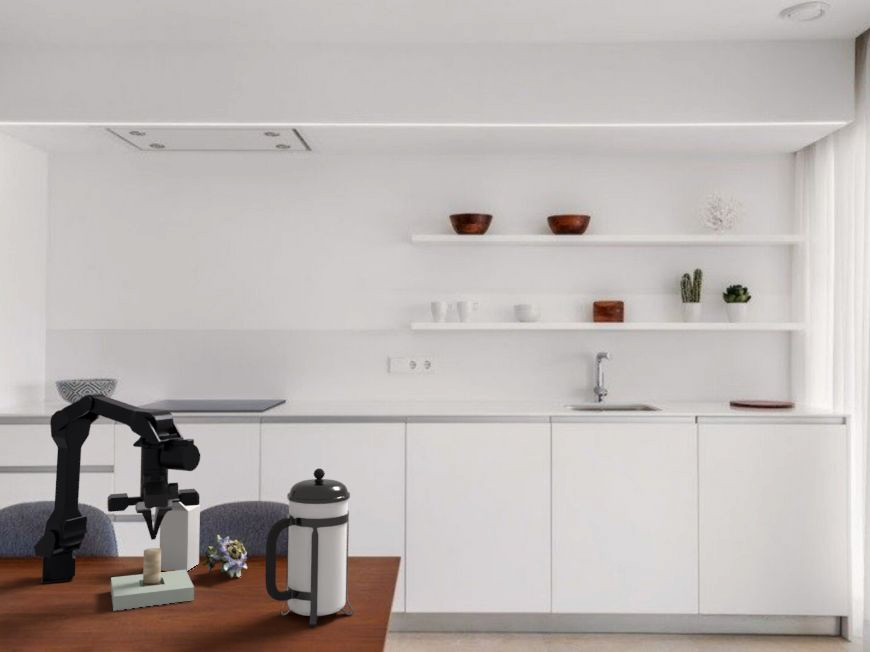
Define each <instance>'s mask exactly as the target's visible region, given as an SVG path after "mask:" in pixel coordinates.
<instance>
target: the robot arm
mask: <svg viewBox="0 0 870 652" xmlns="http://www.w3.org/2000/svg"><path fill="white" fill-rule="evenodd" d="M100 416H101V417H103V418H106V419H109V420H111V421H114V422H118V423H121V424H123V425H126V426H127V427H129V428H130V430H131V431H132V433H134V434H136V435H138V436H139V438H138V439H137V440H135V442H134V443H133V444H132V446H133V447H134V448H140V477H139V478H140V487H139V493H140V494H139V496H128V493H127V492H126V493H124V492H123V493H110V494H109V495H108V496H107V500H106V501H107V502H106V503H107V507H106V508H107V511H108V512H110V513H113V512H123V511H124V512H125V510H127V508H129V506H130V507H132V506H134V507H135V512H136V514H142V516H143V519H144V521H145V523H146V527H147V530H148V533H149V537H150V540H152V541H153V540H154V541H155V540H156V539H157V535H158V534H159V531H160V525H161V522H162V520H163V518H164V516H165V514H166V513H167V512H168V511H172V507H171V504H172V503H174V502H181V503H182V504H183V505H184V506H193V505H200V499H201V498H200V493H199V492H198V491H197V490H196V488H184V489H179V483H178V482H169V470H172V471H173V470H174V471H183V472H184V471H187V472H193V471H195V470H196V469H197V467H198V466H199V465H200V461H201V453H200V450H199V448H198V447H197V445H195V440H194V438H186V439H185V438H184V436H183V434H182V433H181V431H180V429H179V427H178V425H177V424H176V421H175V419H174V417H173V414H172V413H171V412H170V411H169V410H166V409H158V408H144V407H143V408H141V407H138V406H135V405H132V404H131V403H130V404H129V403H126V402H123V401H120V400H118V399H116V398H115V399H114V398H112V397H109V396H106V395H104V394H102V393H98V394H97V393H94V394H86V395H84V396H82V397H81V398H79V399H78V400H77V401H75V402H73V403H70V404H68V405H66V406H65V407H63V408H62V409H59V410H57V411H55V412H54V413H53V414H52V415H51V417H50V421H49V422H50V435H51V436H50V437H51V438H52V440H53V442H54V444H55V446H56V447H57V457H56V471H55V472H56V474H55V475H56V476H55V493H54V509H53V511H52V513H51V514H50V516H49V517H48V519H47V520H46V521H45V522H46V523H45V528H44V534H43V535H42V537H41V538H40V539H39V540H38V541H37V542H36V543H35V545H34V546H33V549H34V553H35V556H37V557H41V558H42V571H41V573H42V575H41V581H40V583H42V585H43V584H51V583H52V584H54V583H53V582H55V583H62V582H63V581H64V582H72V581H73V580H74V577H75V576H76V555H74V553H73V552H74V551H77V550H80V549H81V546H82V543H83V540H85V536H86V534H87V533H88V530H87V523H88V516H87V515H83V514H82V513H81V511H80V509H79V495H80V481H81V480H80V479H81V478H80V477H81V476H80V474H81V463H82V462H81V461H82V460H81V459H82V447H83V445H84V444H85V442H86V440H87V439H88V438H89V436H90V431H91V425H92V424H93V423H94V422H95V421H97V420H98V419H99V418H100ZM153 508H155V512H154V519H152V518H153V515H152V514H153V513H152V509H153ZM153 520H154V521H153ZM71 580H72V581H71Z"/></svg>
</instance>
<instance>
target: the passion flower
mask: <svg viewBox="0 0 870 652" xmlns="http://www.w3.org/2000/svg"><path fill="white" fill-rule="evenodd" d="M215 536H216V541H217V544H215V547H216V548H214V546H208V547H207V549H206V550H205V551H204V555H205V556H206V558H207V559H206V560H204V561H203V563H202V566H203V567H204V566H206V565H208V574H209V573H211V570H212V569H213V568H215V566H216V564H218V563H219V562H220V563H221V565H220V568H219V569H220V571H221V572H222V573H224V572H226V574H227V577H229V578H231V579H233V577H234V578H235V577H240V576H241V577H242V571H241V570H248V566H247V563H246V562H247V561H248V560H247V559H248V557H247V554H248V552H247V551H246V548H245V547H244V544H243V540H241V539H240V540H239V541H238V540H237V539H234V538H233V539H230V536H227V537H226V536H224V538H222V537H221V535H219V534H216V535H215ZM241 577H240V578H241Z"/></svg>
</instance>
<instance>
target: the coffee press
mask: <svg viewBox="0 0 870 652" xmlns="http://www.w3.org/2000/svg"><path fill="white" fill-rule="evenodd" d="M313 471H314V472H313V477H314V479H313V478H312V479H305V480H301V481H298V482H296V483H295V484H294V485H292V487H291V488H290V489H289V492H288V493H287V496H286V497H287V498H286V499H287V501H288V502H289V503H288V512H287V517H284V518H282V519H279V520H278V521H276V522H275V523H274V524H273V525H272V527H271V529H270V530H269V532H268V534H267V535H268V536H267V538H266V545H265V548H266V549H265V588H266V591H267V594H268V596H269V597H270V598H271V599H273V600H276V601H280V602H284V601H285V603H284V604H283V605H282V607H281V609H280V610H279V611H280V612H279V614H280V615H281V616H283V617H285V616H287V615H288V614H289V613H290V612H293V613H295V614H298V615H301V616H307V617H309V627H311V628H315V627H316V628H317V626H318V619H319V617H321V616H322V617H323V616H328V615H331V614H335V613H337V612H339V611H342V612H343V613H344V614H345V615H346V616H348V617H349V616H352V615H353V613H354V607H353V606H352V605H351V603H350V602H349V598H348V597H349V596H348V595H349V591H348V590H349V589H348V588H349V535H350V534H349V532H350V531H349V528H350V526H349V525H350V523H349V522H350V519H349V517H350V512H349V500H350V497H351V493H350V492H349V491H348V488H347V487H346V484H344V483H343V482H341V481H338V480H335V479H327V478H324V477H325V475H326V473H325V471H324V470H323V469H322V468H316V469H315V470H313ZM285 529H287V532H286V533H287V537H286V538H287V540H286V590H284V591H279V589H278V587H277V582H276V581H277V580H276V578H277V576H276V574H277V543H278V542H277V541H278V539H279V538H278V537H279V535H280V534H281V532H282V531H283V530H285ZM346 604H347V605H348V607H349V608H350V610H351V612H348V611H347V610H346V609H345V608H344V607H345V606H346ZM286 605H287V606H288V608H289V610H288V611H286V612H283V609H284V608H285V606H286Z"/></svg>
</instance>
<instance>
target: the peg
mask: <svg viewBox="0 0 870 652" xmlns="http://www.w3.org/2000/svg"><path fill="white" fill-rule="evenodd" d="M142 565H143V569H142V570H143V572H142V574H143V587H144V586H153V585H160V583H161V549H160V547H150V548H146V549H144V550H143V564H142Z"/></svg>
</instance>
